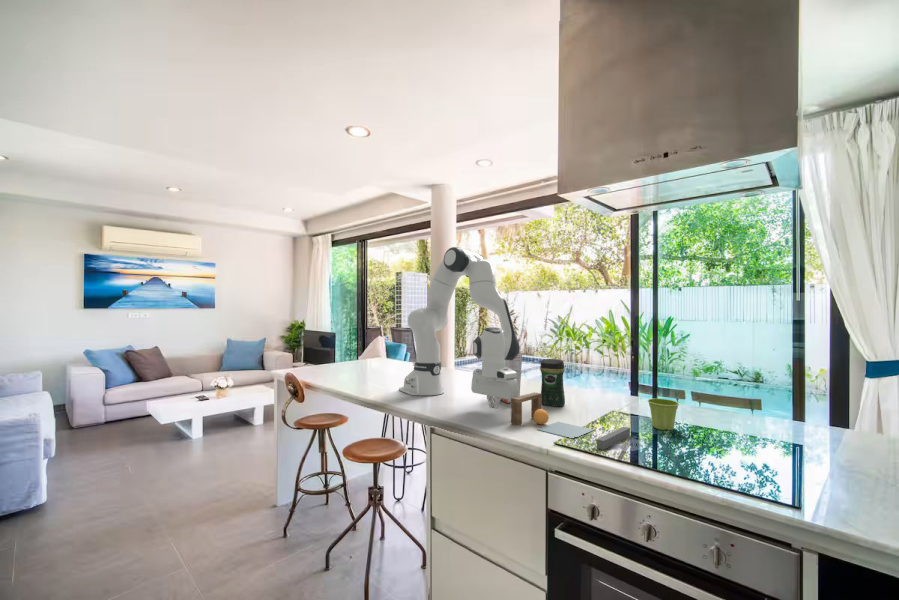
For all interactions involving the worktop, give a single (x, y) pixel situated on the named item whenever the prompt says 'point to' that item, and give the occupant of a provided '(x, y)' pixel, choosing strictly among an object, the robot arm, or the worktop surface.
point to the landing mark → (565, 430)
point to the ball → (541, 416)
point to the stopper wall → (613, 438)
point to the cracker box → (516, 367)
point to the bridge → (517, 406)
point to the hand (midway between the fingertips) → (493, 408)
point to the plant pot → (663, 413)
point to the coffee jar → (552, 382)
